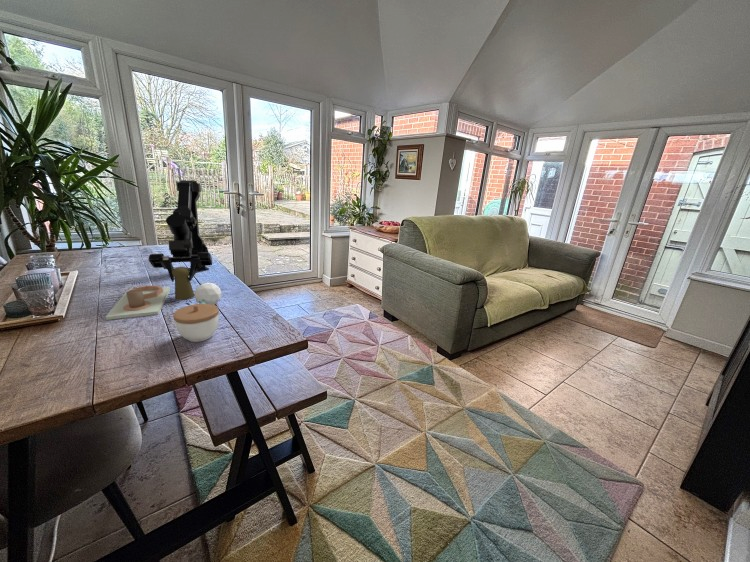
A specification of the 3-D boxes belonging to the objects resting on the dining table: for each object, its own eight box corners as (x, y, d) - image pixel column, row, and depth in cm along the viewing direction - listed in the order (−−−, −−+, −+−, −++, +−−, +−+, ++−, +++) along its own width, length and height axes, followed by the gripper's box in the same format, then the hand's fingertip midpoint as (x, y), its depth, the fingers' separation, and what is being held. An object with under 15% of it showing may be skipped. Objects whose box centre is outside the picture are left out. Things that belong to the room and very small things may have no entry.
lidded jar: (227, 337, 84) (223, 307, 81) (183, 351, 77) (177, 318, 74) (214, 323, 91) (210, 295, 88) (173, 334, 84) (167, 304, 81)
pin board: (128, 292, 109) (124, 276, 107) (170, 289, 114) (168, 274, 112) (106, 319, 89) (101, 301, 87) (158, 314, 95) (155, 296, 93)
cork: (175, 301, 104) (170, 271, 101) (174, 295, 109) (169, 266, 105) (195, 298, 108) (191, 268, 104) (193, 292, 112) (189, 264, 109)
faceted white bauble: (228, 289, 108) (223, 307, 98) (209, 302, 108) (202, 321, 98) (211, 274, 104) (204, 290, 93) (191, 287, 104) (183, 305, 94)
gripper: (144, 230, 101) (140, 271, 95) (207, 230, 108) (207, 268, 102) (155, 248, 110) (152, 286, 104) (212, 246, 117) (212, 282, 111)
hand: (181, 280), depth 105 cm, fingers closed on cork, 5 cm apart
